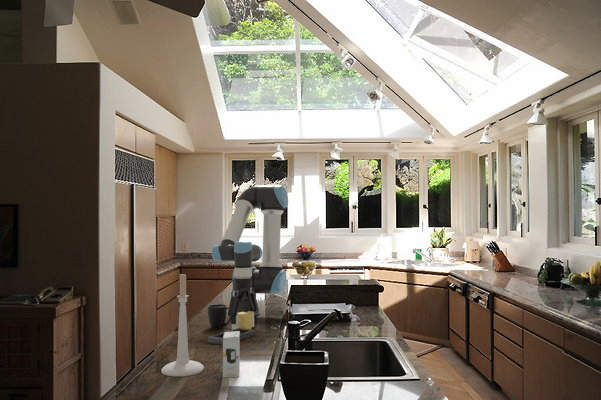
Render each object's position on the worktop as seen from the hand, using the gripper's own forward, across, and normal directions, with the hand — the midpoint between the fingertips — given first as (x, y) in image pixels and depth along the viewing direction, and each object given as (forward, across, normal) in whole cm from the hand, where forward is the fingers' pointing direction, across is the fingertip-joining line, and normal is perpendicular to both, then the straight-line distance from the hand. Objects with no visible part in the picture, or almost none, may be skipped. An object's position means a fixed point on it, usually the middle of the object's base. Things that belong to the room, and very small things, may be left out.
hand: (243, 329), depth 218 cm
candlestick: (+1, +58, +19) cm, 61 cm away
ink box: (+1, +53, +34) cm, 63 cm away
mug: (0, +1, -11) cm, 11 cm away
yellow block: (0, 0, 0) cm, 0 cm away
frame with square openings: (0, +16, +6) cm, 17 cm away
